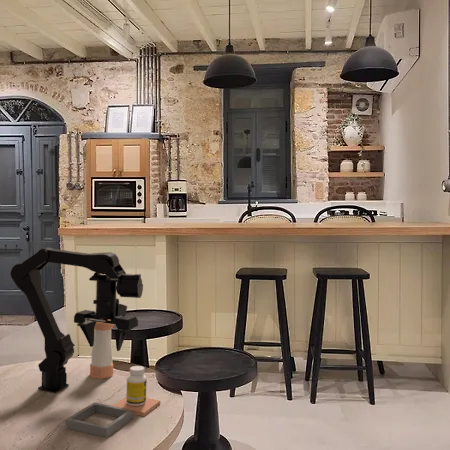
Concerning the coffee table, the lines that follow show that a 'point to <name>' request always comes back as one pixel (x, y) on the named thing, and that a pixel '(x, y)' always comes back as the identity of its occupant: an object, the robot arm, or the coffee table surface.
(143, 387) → the supplement bottle
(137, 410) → the coaster
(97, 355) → the pepper shaker
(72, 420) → the grey square frame
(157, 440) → the coffee table surface
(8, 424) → the coffee table surface
